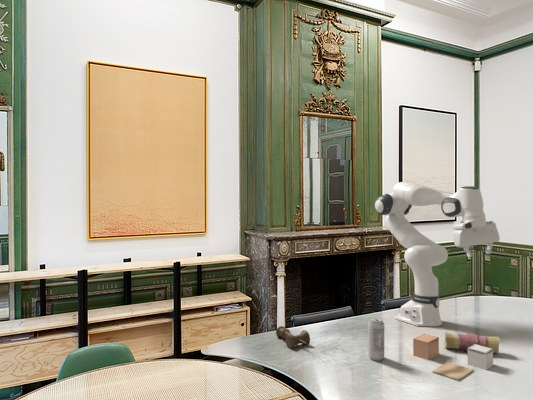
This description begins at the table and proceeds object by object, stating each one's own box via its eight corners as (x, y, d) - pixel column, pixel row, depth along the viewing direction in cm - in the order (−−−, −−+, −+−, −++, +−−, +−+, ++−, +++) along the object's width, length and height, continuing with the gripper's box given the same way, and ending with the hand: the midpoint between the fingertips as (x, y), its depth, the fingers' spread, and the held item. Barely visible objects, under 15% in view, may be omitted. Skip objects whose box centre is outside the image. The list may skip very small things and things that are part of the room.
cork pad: (432, 372, 140) (432, 371, 140) (447, 363, 148) (447, 361, 148) (458, 381, 133) (458, 379, 133) (473, 371, 141) (473, 369, 141)
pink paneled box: (413, 355, 156) (413, 338, 156) (424, 349, 162) (424, 333, 162) (427, 359, 151) (427, 342, 151) (438, 353, 157) (438, 337, 157)
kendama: (289, 335, 180) (316, 348, 163) (271, 340, 175) (297, 353, 158) (288, 322, 180) (315, 333, 163) (270, 326, 176) (296, 338, 158)
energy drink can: (380, 354, 156) (379, 316, 156) (387, 360, 150) (387, 321, 150) (365, 355, 155) (365, 317, 155) (372, 361, 149) (372, 322, 149)
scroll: (496, 346, 162) (443, 340, 169) (498, 332, 159) (443, 326, 166) (500, 360, 155) (444, 353, 162) (501, 345, 152) (445, 339, 159)
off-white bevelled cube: (467, 364, 147) (467, 348, 147) (474, 359, 151) (474, 343, 151) (486, 369, 142) (486, 353, 142) (493, 364, 147) (493, 348, 147)
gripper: (489, 220, 175) (494, 251, 174) (449, 226, 171) (454, 257, 170) (500, 220, 169) (505, 252, 168) (459, 225, 165) (464, 258, 164)
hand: (479, 255), depth 169 cm, fingers open, 8 cm apart
